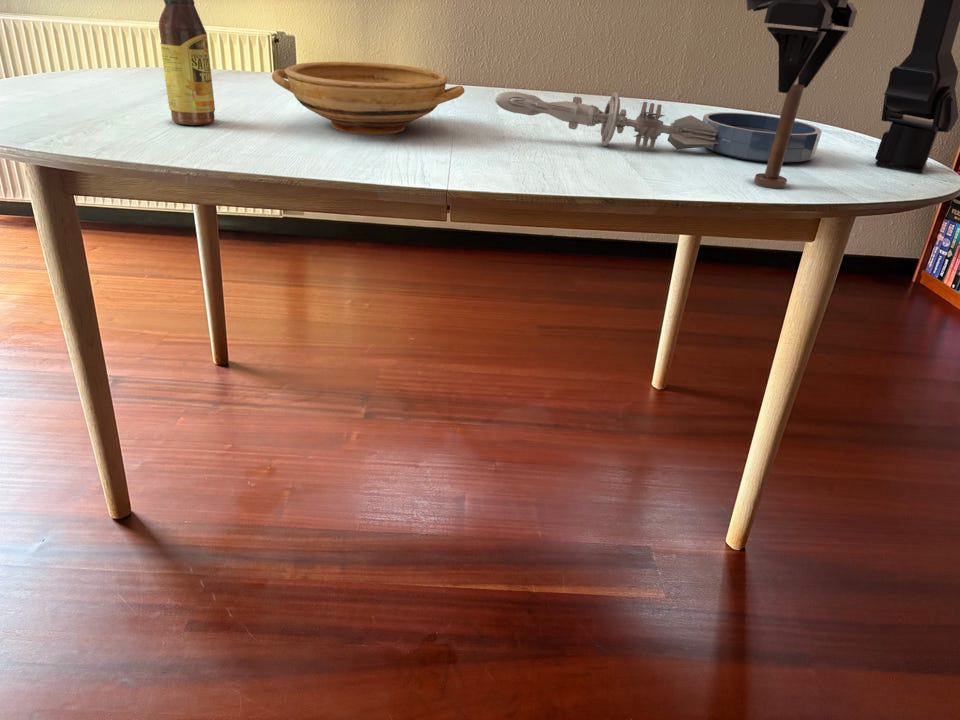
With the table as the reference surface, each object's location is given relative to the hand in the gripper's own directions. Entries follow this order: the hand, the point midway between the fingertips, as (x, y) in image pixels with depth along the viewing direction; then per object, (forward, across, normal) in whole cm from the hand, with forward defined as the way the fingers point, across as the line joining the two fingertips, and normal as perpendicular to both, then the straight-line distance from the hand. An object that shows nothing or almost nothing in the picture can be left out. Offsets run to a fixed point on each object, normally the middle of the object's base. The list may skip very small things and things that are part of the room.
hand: (792, 90), depth 86 cm
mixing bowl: (+12, -19, -8) cm, 24 cm away
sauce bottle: (+12, +37, -73) cm, 83 cm away
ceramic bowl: (+12, +18, -56) cm, 60 cm away
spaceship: (+12, -2, -26) cm, 28 cm away
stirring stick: (+12, 0, 0) cm, 12 cm away
